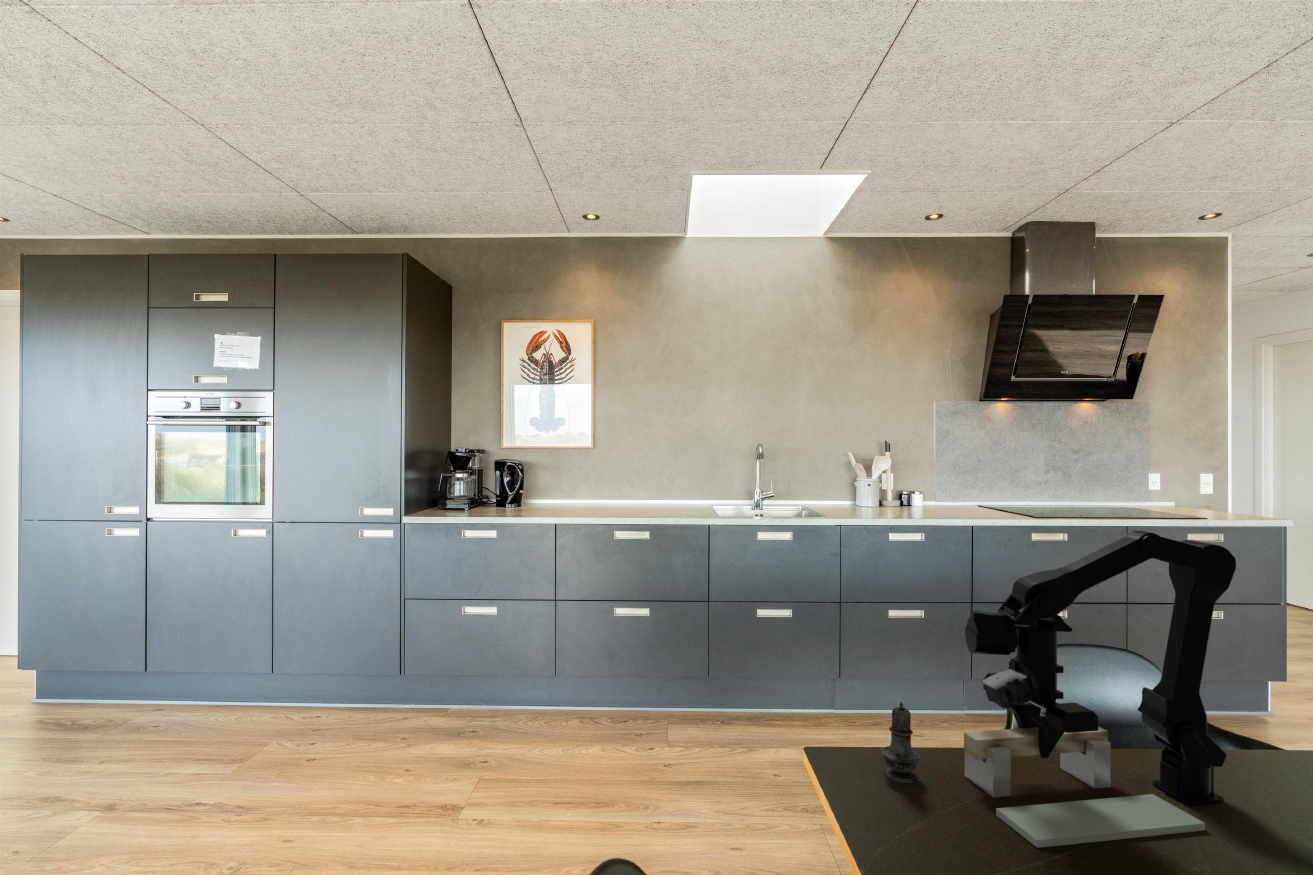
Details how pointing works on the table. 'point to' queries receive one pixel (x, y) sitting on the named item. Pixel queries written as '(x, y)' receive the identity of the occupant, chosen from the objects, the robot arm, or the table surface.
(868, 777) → the table surface
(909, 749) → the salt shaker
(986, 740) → the birch rail
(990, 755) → the steel stands
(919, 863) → the table surface
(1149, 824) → the sage board
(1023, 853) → the table surface
